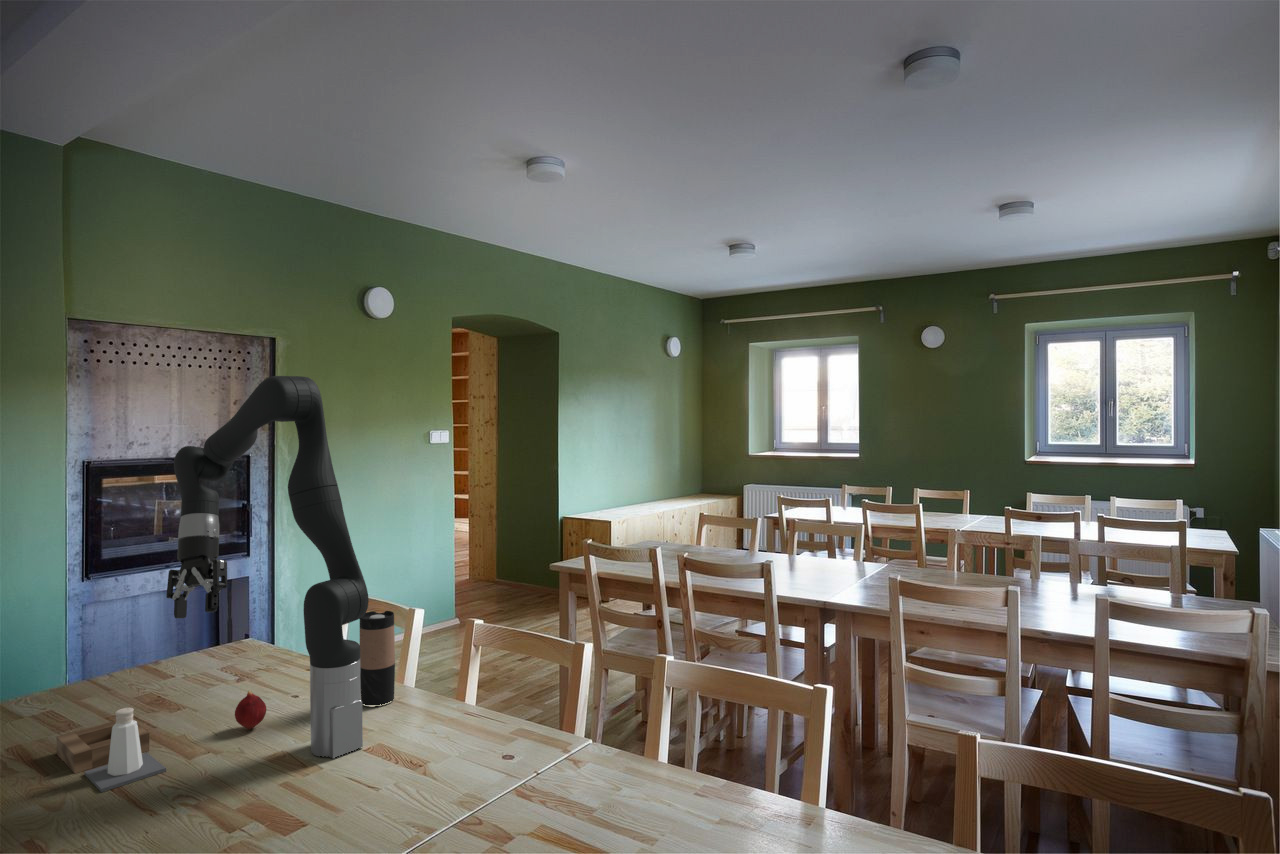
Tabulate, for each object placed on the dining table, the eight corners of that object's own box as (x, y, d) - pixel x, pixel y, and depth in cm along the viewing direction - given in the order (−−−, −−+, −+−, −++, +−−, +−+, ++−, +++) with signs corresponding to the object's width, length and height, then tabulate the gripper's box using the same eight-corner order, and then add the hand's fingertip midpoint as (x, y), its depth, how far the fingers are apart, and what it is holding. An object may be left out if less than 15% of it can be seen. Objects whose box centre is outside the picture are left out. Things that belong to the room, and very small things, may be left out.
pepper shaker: (145, 769, 137) (144, 710, 137) (109, 779, 133) (108, 718, 133) (140, 759, 141) (139, 701, 141) (105, 768, 137) (104, 709, 137)
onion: (272, 724, 159) (271, 686, 158) (255, 735, 153) (255, 696, 153) (246, 722, 159) (245, 685, 159) (228, 734, 153) (228, 695, 153)
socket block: (149, 750, 146) (149, 732, 146) (74, 773, 137) (74, 754, 137) (129, 733, 154) (128, 717, 154) (56, 754, 144) (56, 736, 144)
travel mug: (372, 710, 165) (371, 621, 165) (353, 702, 170) (352, 615, 170) (402, 700, 171) (401, 613, 171) (382, 692, 176) (381, 608, 176)
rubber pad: (166, 771, 138) (165, 767, 138) (101, 792, 130) (101, 789, 130) (147, 755, 144) (147, 752, 144) (84, 774, 136) (84, 771, 136)
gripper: (158, 542, 158) (153, 620, 153) (208, 529, 154) (205, 609, 149) (190, 545, 165) (186, 620, 160) (239, 533, 160) (237, 610, 155)
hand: (195, 615), depth 154 cm, fingers open, 8 cm apart
